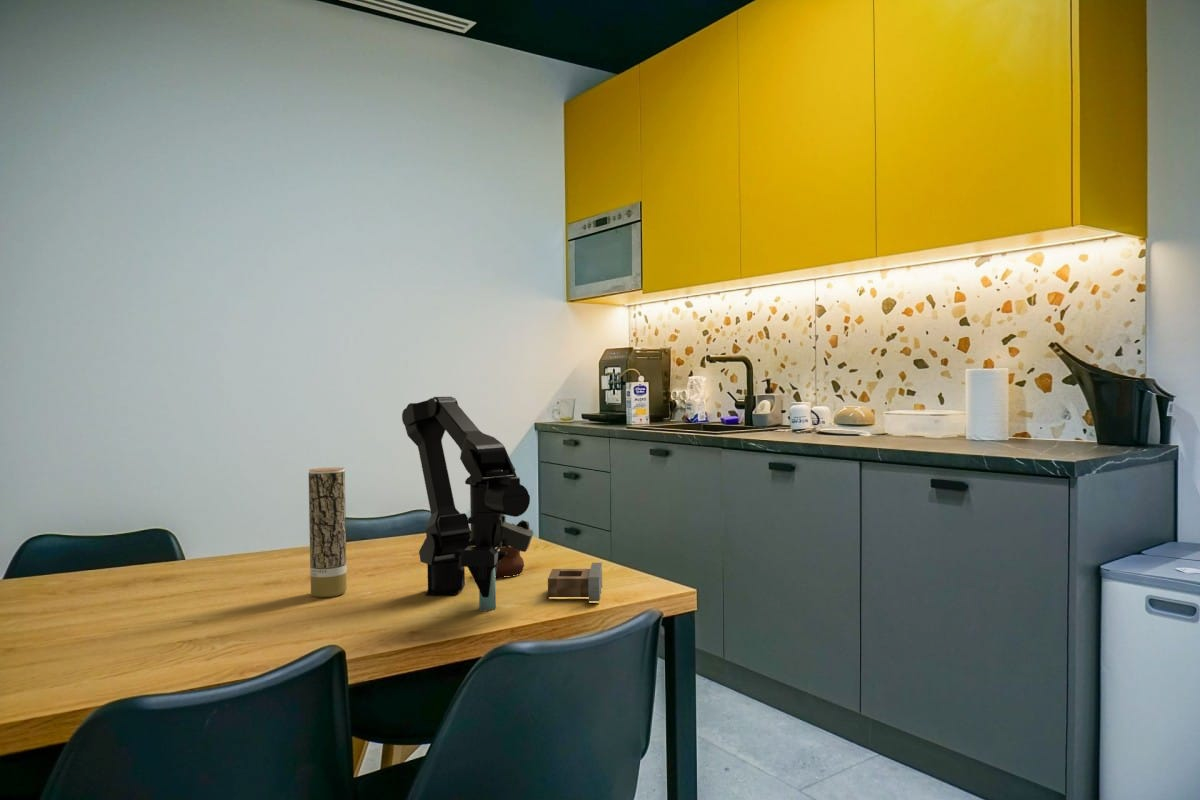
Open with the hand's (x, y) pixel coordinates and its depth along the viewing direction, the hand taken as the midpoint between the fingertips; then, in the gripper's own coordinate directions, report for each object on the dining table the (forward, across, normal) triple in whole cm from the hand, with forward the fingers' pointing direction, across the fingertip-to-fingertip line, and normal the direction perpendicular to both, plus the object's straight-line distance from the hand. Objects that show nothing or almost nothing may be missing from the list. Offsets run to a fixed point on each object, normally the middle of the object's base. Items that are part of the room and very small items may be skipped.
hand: (487, 594), depth 141 cm
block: (+2, +10, -14) cm, 18 cm away
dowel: (+2, 0, 0) cm, 2 cm away
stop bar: (+2, +9, -20) cm, 22 cm away
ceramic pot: (+3, +27, +2) cm, 27 cm away
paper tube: (+3, +10, +34) cm, 36 cm away
